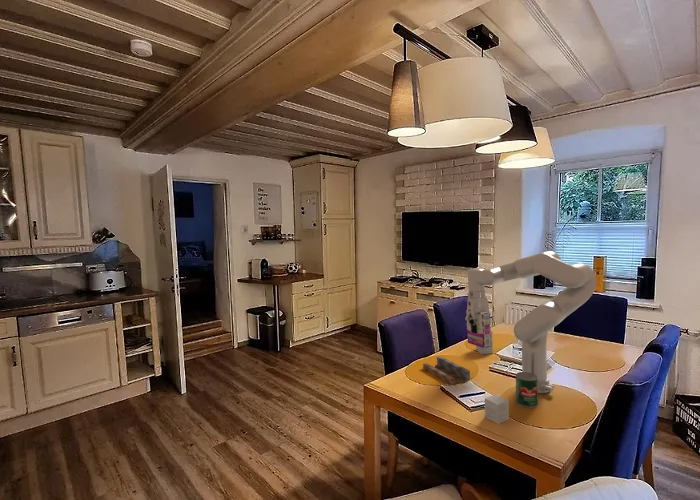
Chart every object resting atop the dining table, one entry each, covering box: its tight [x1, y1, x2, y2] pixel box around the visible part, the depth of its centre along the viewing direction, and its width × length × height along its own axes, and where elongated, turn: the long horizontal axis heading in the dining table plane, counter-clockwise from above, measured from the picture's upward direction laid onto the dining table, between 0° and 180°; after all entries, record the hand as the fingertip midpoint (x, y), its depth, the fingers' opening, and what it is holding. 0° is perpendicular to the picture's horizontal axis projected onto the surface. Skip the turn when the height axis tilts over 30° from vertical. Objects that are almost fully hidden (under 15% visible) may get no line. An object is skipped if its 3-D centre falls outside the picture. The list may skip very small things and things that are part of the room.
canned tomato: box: [515, 371, 539, 409], centre depth 144 cm, size 8×8×11 cm
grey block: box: [484, 394, 510, 425], centre depth 134 cm, size 6×6×7 cm
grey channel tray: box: [422, 355, 471, 386], centre depth 175 cm, size 22×11×4 cm, turn 24°
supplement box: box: [475, 330, 494, 355], centre depth 203 cm, size 7×7×13 cm
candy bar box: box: [465, 309, 492, 348], centre depth 174 cm, size 11×5×16 cm, turn 25°
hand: (478, 331), depth 174 cm, fingers closed on candy bar box, 5 cm apart
